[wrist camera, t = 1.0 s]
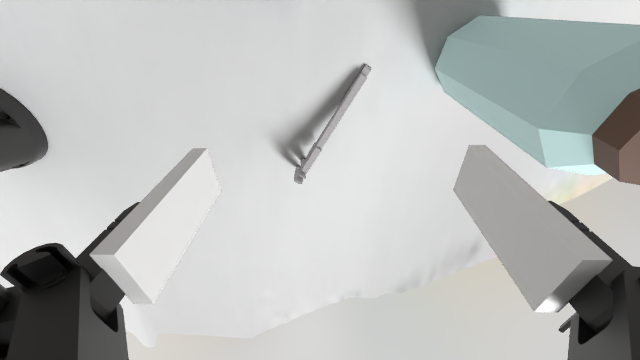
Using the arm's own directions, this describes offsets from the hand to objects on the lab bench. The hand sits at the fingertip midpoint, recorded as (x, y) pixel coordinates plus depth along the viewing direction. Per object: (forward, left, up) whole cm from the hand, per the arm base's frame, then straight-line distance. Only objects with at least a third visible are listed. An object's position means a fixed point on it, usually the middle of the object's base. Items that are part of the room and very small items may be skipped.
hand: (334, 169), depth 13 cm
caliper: (+4, -8, -27) cm, 28 cm away
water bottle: (+17, +9, -27) cm, 33 cm away
